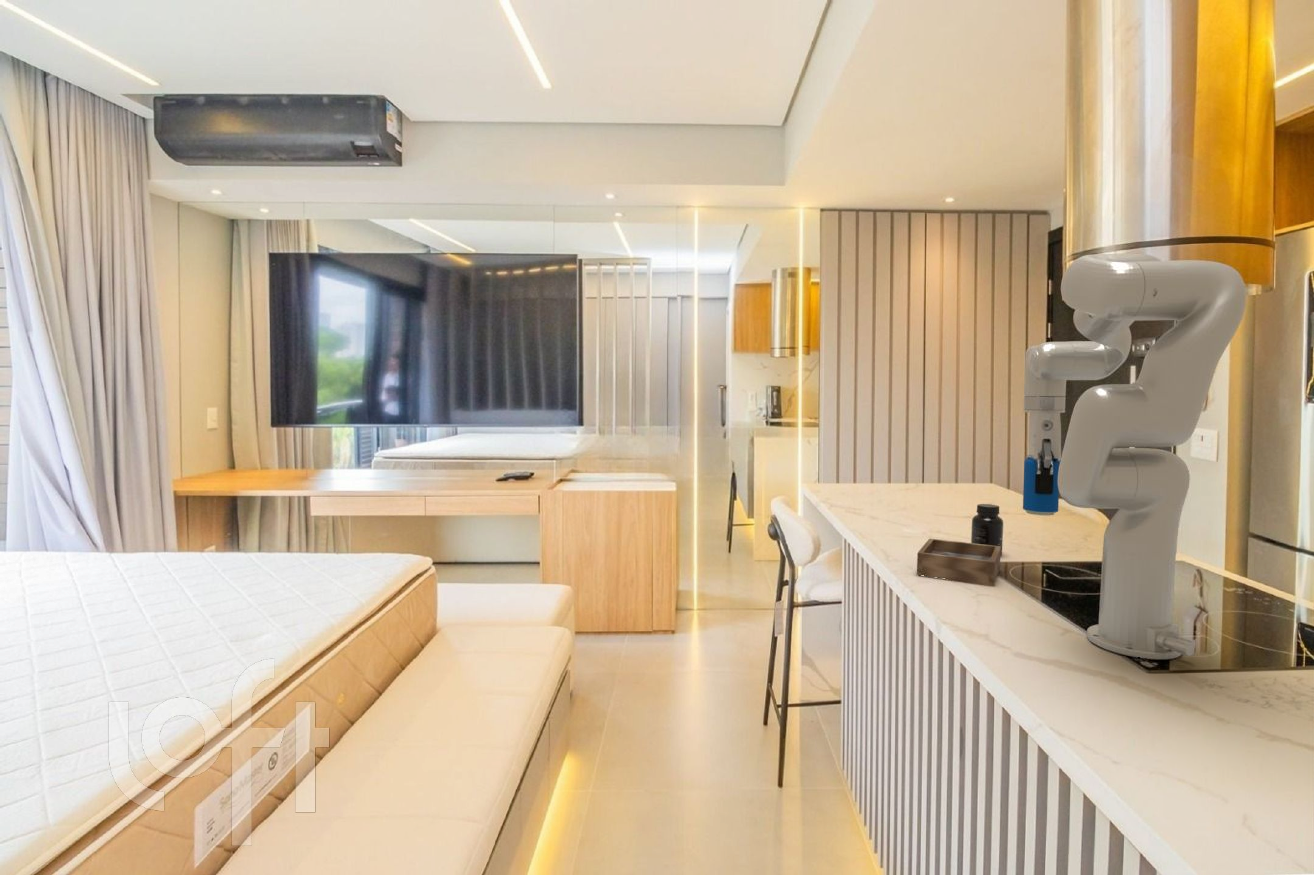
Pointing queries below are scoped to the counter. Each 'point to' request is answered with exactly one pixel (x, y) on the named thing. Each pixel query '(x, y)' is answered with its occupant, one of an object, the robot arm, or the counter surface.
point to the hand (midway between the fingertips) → (1041, 490)
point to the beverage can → (1039, 502)
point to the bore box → (959, 561)
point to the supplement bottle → (987, 526)
